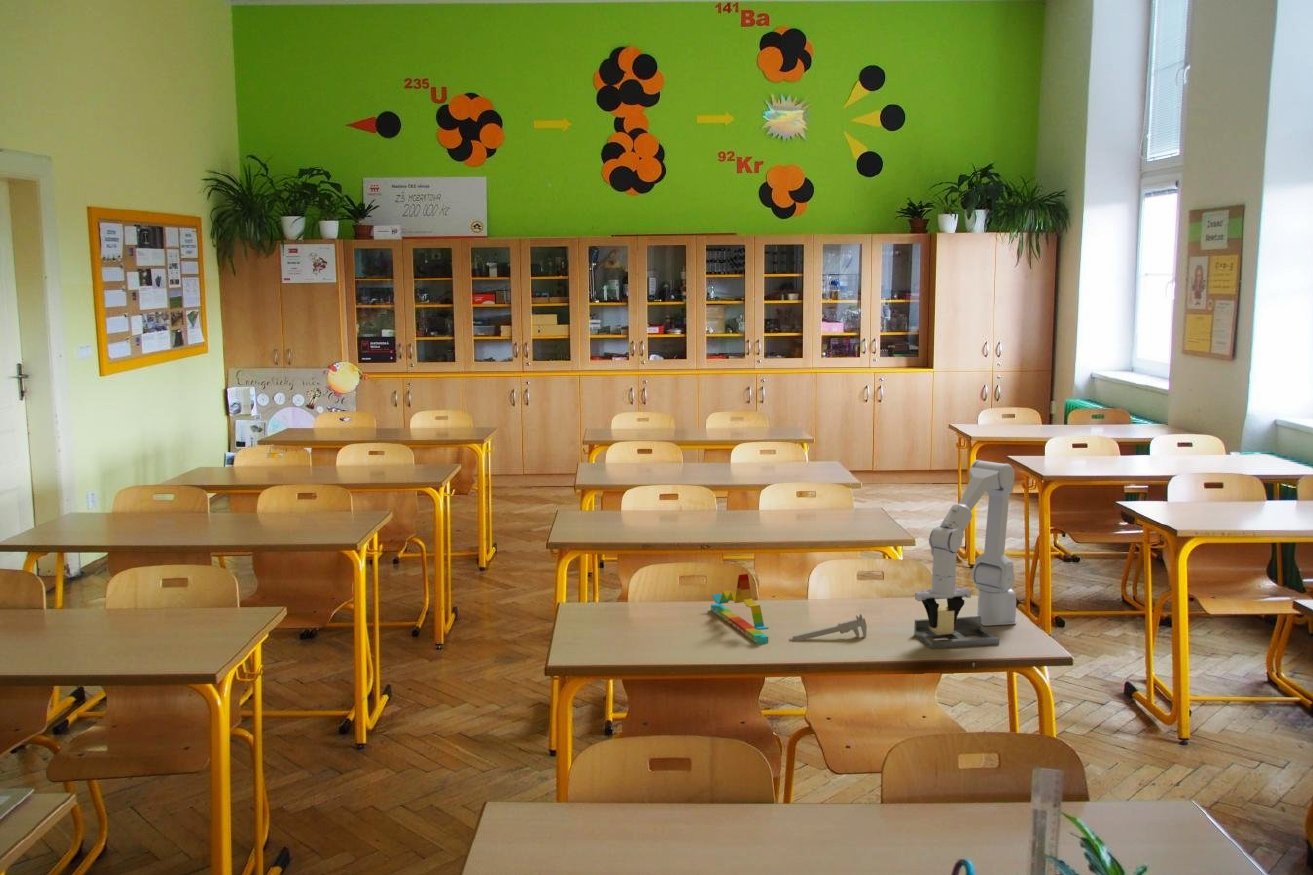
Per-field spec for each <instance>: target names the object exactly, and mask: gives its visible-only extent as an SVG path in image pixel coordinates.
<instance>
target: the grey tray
mask: <svg viewBox="0 0 1313 875" xmlns="http://www.w3.org/2000/svg"><path fill="white" fill-rule="evenodd" d="M913 628H914V630H913V635H914V636H915V637H916V638H918V639H919V640H920V639H921V642H923V643H924V644H925V643H926V645H927V646H928V647H929V648H931V649H934V650H935V649H948V648H965V647H979V646H980V647H982V646H993V645H994V646H996V645H1000V638H999V637H997V636H996V635H994V634H993V633H992V632H990V631H988V630H987V629H985V628H984V627H982V624H981V617H980V616H972V617H971V616H959V617H958V616H957V618H956V621H955V625H954V634H944V635H936V634H935V633H933V632H932V631H930V630H929V619H928V618H923V619H921V618H920V619H914V627H913ZM973 635H977V636H979V637H965V636H973ZM942 637H948V638H949V639H948V638H947V639H937V640H936V639H934V638H942Z"/></svg>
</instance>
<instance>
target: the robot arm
mask: <svg viewBox="0 0 1313 875" xmlns="http://www.w3.org/2000/svg"><path fill="white" fill-rule="evenodd" d="M1015 473H1016V472H1015V470H1014V468H1013V467H1012V465H1011V464H1010V463H1001V462H1000V463H999V462H993V461H986V460H982V459H975V461H974V462H973V463H971V466H970V468H969V471H968V478H969V482H968V484H967V486H966V488H965V490H964V492H963V494H962V497H961V498H960V500H959V502H958V503H957V504H956V503H955V504H953V505H952V506H951V507H950V508H949V510H948V512H947V514H946V516H945V517H944V518H943V520H942V522H941V523H940V525H939V526H937V527H934V528H933V529H932V530H931V532H930V534H929V538H928V544H929V547H930V554H931V556H932V571H931V572H932V573H931V574H932V576H931V577H932V578H931V588H930V589H925V590H921V591H915V593H914V599H915V600H916V601H917V602H921V603H922V605H923V607H924V609H925V611H926V614H927V619H929V624H930V626H931V627H932V628H936V622H937V611H938V607H939V606H940V604H939V603H937V600H946V603H947V607H949V608H951V609H952V610H954V625H955V621H956V618H957V617H958V616H959V613H960V611H961V610H962V608H963V606H964V605H965V600H964V599H963V598H967V599H972V590H971V589H969V588H956V578H957V576H956V575H957V552H958V551H959V550H960V548H961V547H962V544H963V539H964V537H965V533H964V532H965V531H966V529H967V527H968V526H969V525H970V522H971V520H972V518H973V513H972V510H973V509H974V508H975V506H976V505H977V504H978V503H979V501H980V500H981V498H982V497H983V495H984V494H985V493H987V495H988V503H987V505H988V506H987V514H986V515H987V516H986V526H985V528H986V529H985V537H984V539H985V540H984V552H983V553H982V554H980V555H978V556H977V557H975V561H974V565H973V568H972V570H971V579H972V582H973V583H974V584H975V587H976V589H978V595H977V596H978V597H977V614H976V615H975V614H972V615H970V617H972V616H980V617H981V626H984V627H987V626H988V627H989V626H1002V625H1003V626H1006V625H1017V624H1018V623H1017V621H1016V616H1017V614H1016V611H1017V597H1016V592H1015V591H1014V589H1012V587H1013V585H1014V583H1015V578H1016V577H1015V572H1014V571H1015V570H1014V562H1013V560H1011V559H1010V558H1009V557H1008V556H1007V555H1006V554H1005V552H1006V551H1005V549H1006V537H1007V536H1006V535H1007V526H1008V525H1007V524H1008V517H1009V516H1008V515H1009V514H1008V513H1009V503H1010V502H1009V501H1010V494H1013V493H1014V485H1015Z"/></svg>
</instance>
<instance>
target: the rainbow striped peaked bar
mask: <svg viewBox="0 0 1313 875" xmlns="http://www.w3.org/2000/svg"><path fill="white" fill-rule="evenodd" d="M711 596H712V599H713V601H714V602H715V603H713V604H710V611H711V610H712V611H711V612H713V613H714V614H715V613H716V614H715V615H717V616H718V615H719V616H718V617H719V618H721V617H722V618H723V619H722V618H721V619H722V620H724V621H725V622H726V621H727V622H726V623H727V624H729V623H730V624H729V625H730V626H732V627H734V628H735V630H737V631H738V632H741V633H742V634H743V635H744V636H746V638H748V639H750V640H751V641H753V642H754V643H756V644H757V645H763V644H768V643H769V636H768V635H767V634H765V633H764V632H762V630H769V627H768V626H765V624H764V619H763V613H762V607H761V604H757V603H756V602H755V600H754V599H753V598H752V592H751V585H750V579H749V574H748V573H744V574H738V578H737V585H736V590H723V591H722V593H714V594H712V595H711ZM730 601H733V603H734V604H738V603H744V604H745V606H746V607H747V608H750V611H751V615H752V620H753V621H752V622H753V625H752V624H751V623H749V622H748V621H747V620H745V619H743V618H742V617H741V616H739V615H737V613H735V612H734V611H732V610H731V609H730V608H728V607H726V606H725V605H724V604H727V603H729V602H730Z"/></svg>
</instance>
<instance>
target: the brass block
mask: <svg viewBox="0 0 1313 875" xmlns="http://www.w3.org/2000/svg"><path fill="white" fill-rule="evenodd" d="M929 630H930V631H932V632H933V633H935V634H936V635H944V634H954V610H952V609H951V608H949V607H948V605H939V607H938V611H937V622H936V628H932V627H931V626H930V624H929Z"/></svg>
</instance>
